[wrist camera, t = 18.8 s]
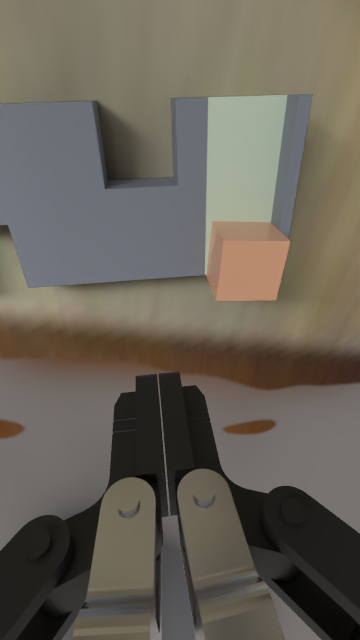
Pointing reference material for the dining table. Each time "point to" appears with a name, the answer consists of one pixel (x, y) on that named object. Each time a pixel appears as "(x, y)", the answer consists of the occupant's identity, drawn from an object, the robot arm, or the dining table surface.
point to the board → (144, 186)
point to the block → (246, 260)
